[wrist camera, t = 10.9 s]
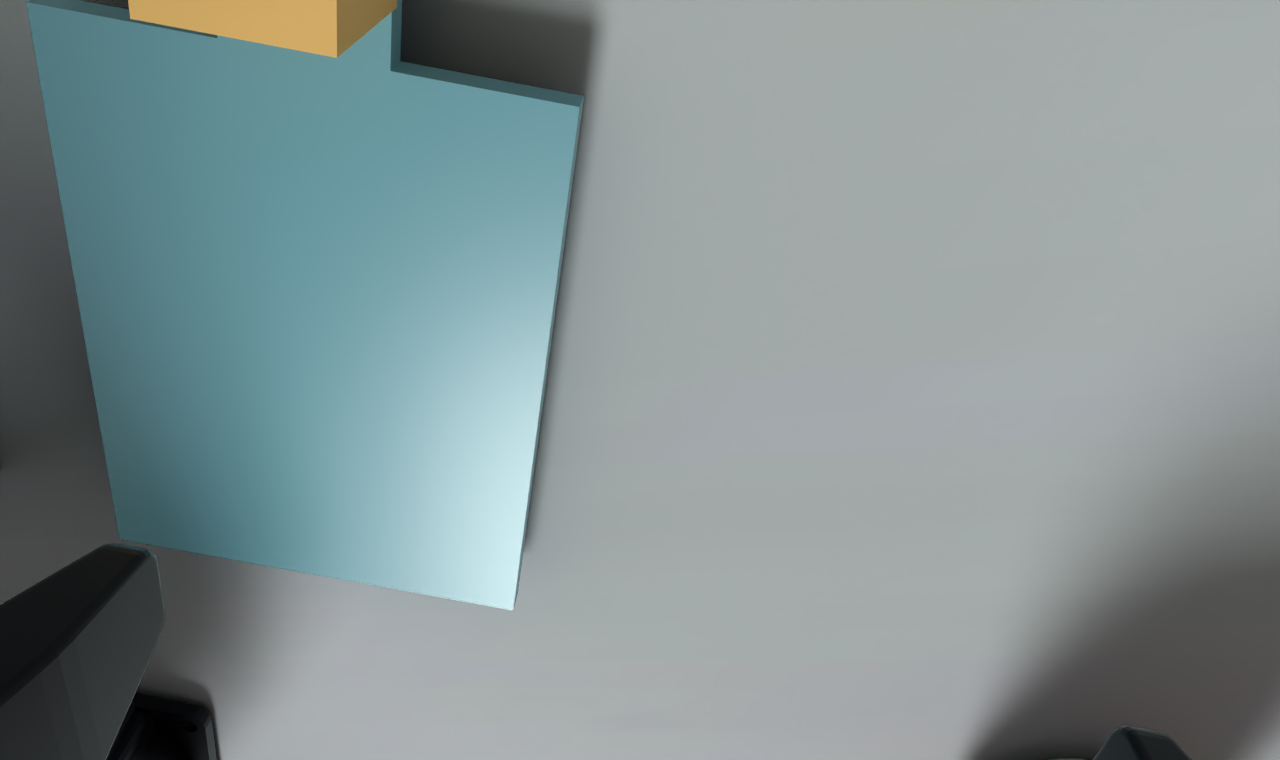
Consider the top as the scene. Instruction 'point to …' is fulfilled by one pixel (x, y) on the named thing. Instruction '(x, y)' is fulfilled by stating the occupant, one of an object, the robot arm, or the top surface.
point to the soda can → (1067, 759)
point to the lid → (309, 283)
